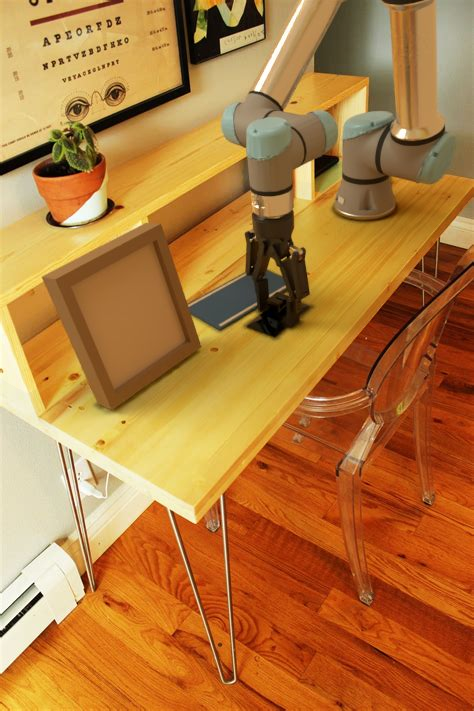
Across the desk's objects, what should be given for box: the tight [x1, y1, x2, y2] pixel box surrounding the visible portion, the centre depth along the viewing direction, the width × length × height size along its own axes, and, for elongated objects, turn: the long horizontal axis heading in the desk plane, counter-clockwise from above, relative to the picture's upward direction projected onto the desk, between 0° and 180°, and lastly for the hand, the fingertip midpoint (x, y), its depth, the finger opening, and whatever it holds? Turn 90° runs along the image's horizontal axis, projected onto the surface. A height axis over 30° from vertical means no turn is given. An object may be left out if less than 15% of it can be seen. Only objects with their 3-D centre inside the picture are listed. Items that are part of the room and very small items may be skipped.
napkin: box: [187, 269, 288, 331], centre depth 133 cm, size 22×12×1 cm, turn 132°
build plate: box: [246, 292, 311, 339], centre depth 125 cm, size 12×7×5 cm, turn 142°
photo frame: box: [41, 222, 202, 411], centre depth 110 cm, size 15×22×25 cm
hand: (278, 315), depth 126 cm, fingers closed on build plate, 8 cm apart
